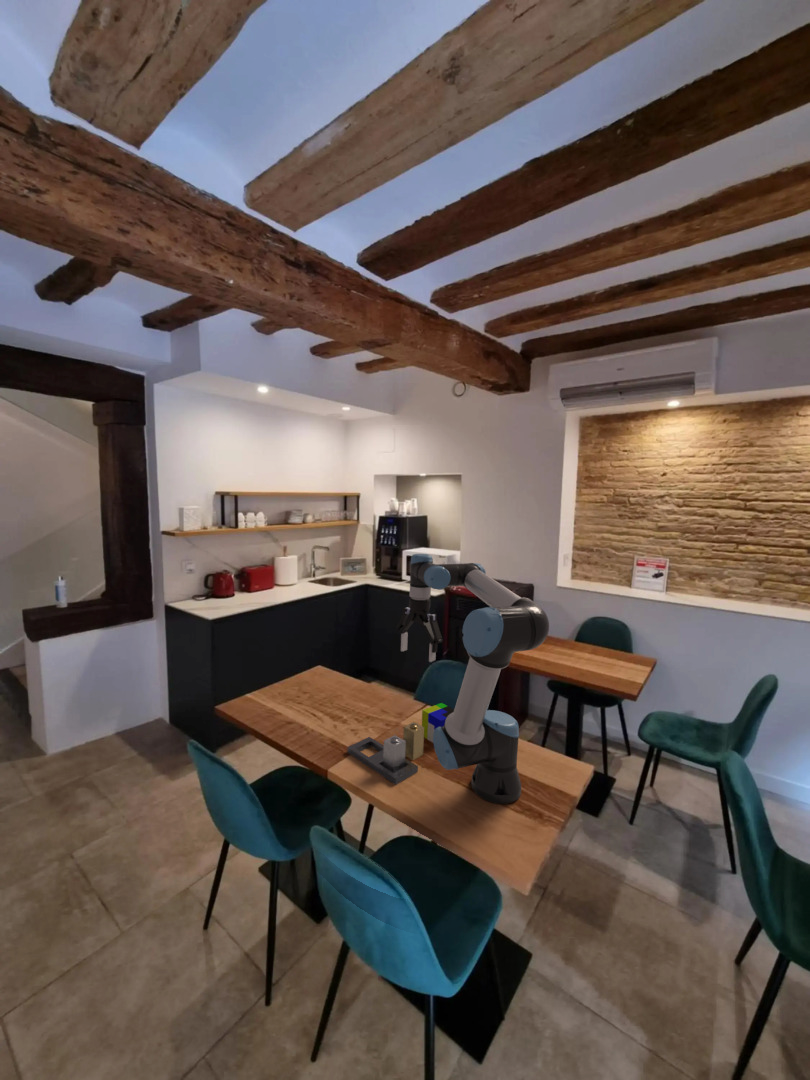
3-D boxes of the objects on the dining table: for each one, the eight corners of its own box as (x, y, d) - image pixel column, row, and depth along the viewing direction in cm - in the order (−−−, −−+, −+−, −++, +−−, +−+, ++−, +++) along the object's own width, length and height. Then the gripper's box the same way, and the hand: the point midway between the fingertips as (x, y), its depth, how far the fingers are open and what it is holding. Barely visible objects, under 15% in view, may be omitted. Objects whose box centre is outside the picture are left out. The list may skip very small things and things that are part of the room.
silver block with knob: (404, 770, 148) (405, 739, 147) (393, 776, 144) (394, 745, 143) (393, 763, 151) (394, 733, 150) (382, 769, 148) (383, 739, 147)
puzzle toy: (439, 747, 162) (441, 720, 161) (421, 735, 170) (422, 709, 169) (459, 738, 169) (460, 712, 168) (440, 727, 176) (441, 702, 175)
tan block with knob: (423, 754, 157) (424, 725, 156) (413, 760, 154) (414, 730, 153) (412, 748, 161) (413, 720, 160) (402, 754, 157) (403, 725, 156)
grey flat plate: (417, 771, 147) (417, 765, 147) (395, 785, 140) (395, 778, 140) (369, 741, 164) (369, 736, 164) (347, 752, 157) (347, 746, 157)
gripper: (454, 602, 155) (451, 662, 157) (402, 590, 172) (400, 644, 174) (440, 606, 149) (437, 668, 151) (387, 592, 166) (386, 648, 169)
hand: (417, 655), depth 163 cm, fingers open, 13 cm apart
